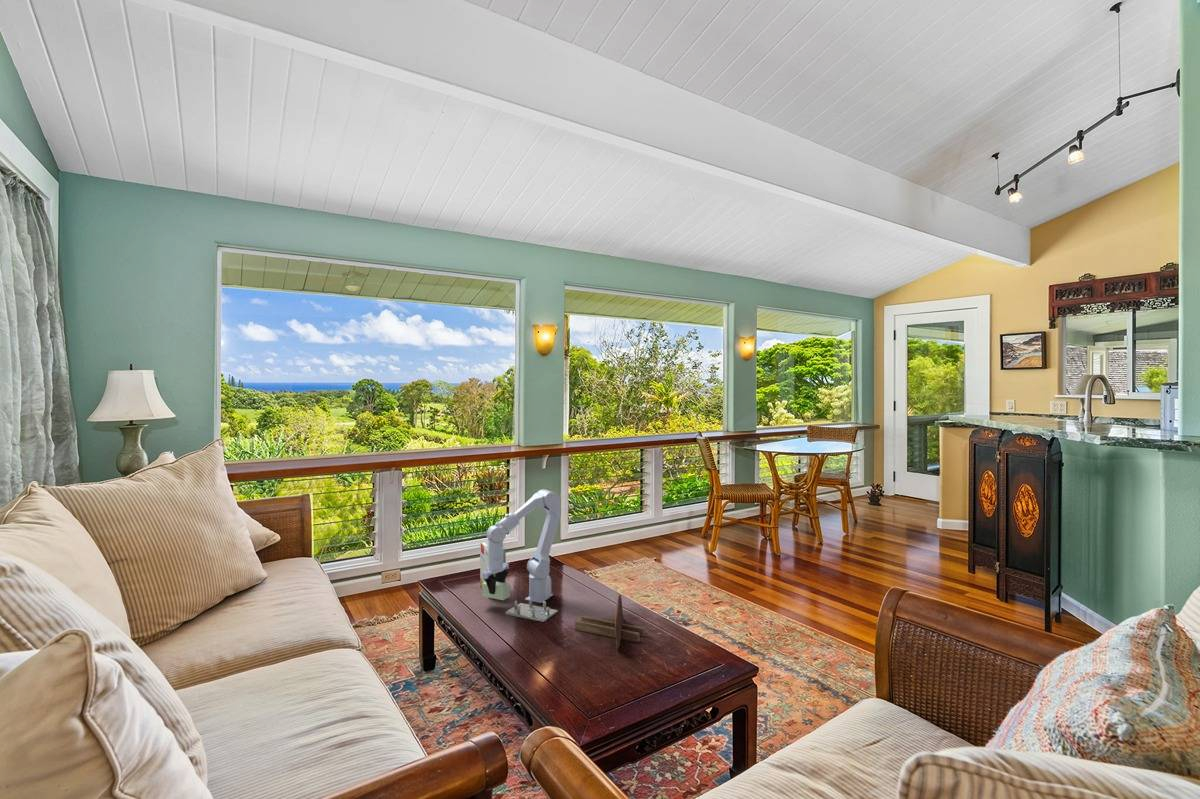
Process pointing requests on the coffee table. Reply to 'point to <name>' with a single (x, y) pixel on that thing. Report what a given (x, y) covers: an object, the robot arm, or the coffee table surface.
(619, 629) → the wooden tablet
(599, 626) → the tablet cradle
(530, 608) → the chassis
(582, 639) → the coffee table surface
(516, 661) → the coffee table surface
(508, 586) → the pale green block
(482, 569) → the hard drive box
